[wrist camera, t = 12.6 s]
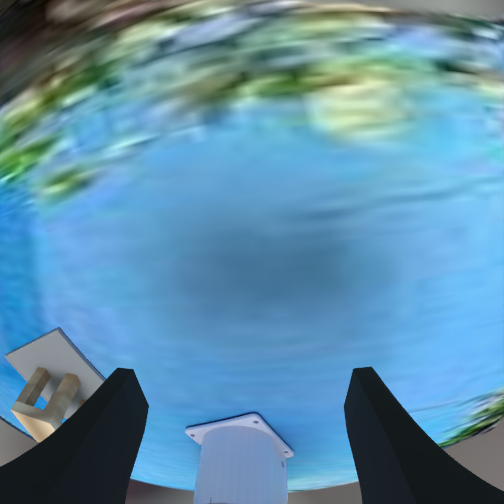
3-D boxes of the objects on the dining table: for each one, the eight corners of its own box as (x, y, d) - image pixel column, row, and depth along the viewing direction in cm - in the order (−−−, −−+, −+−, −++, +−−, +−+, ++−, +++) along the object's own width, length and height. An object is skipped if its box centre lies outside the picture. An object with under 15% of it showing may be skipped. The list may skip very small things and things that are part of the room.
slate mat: (142, 414, 27) (141, 417, 26) (75, 424, 29) (74, 426, 29) (59, 327, 22) (57, 330, 22) (6, 354, 25) (4, 356, 25)
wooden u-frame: (76, 374, 24) (50, 423, 19) (95, 408, 26) (75, 454, 21) (37, 366, 24) (10, 409, 19) (57, 399, 27) (36, 441, 21)
